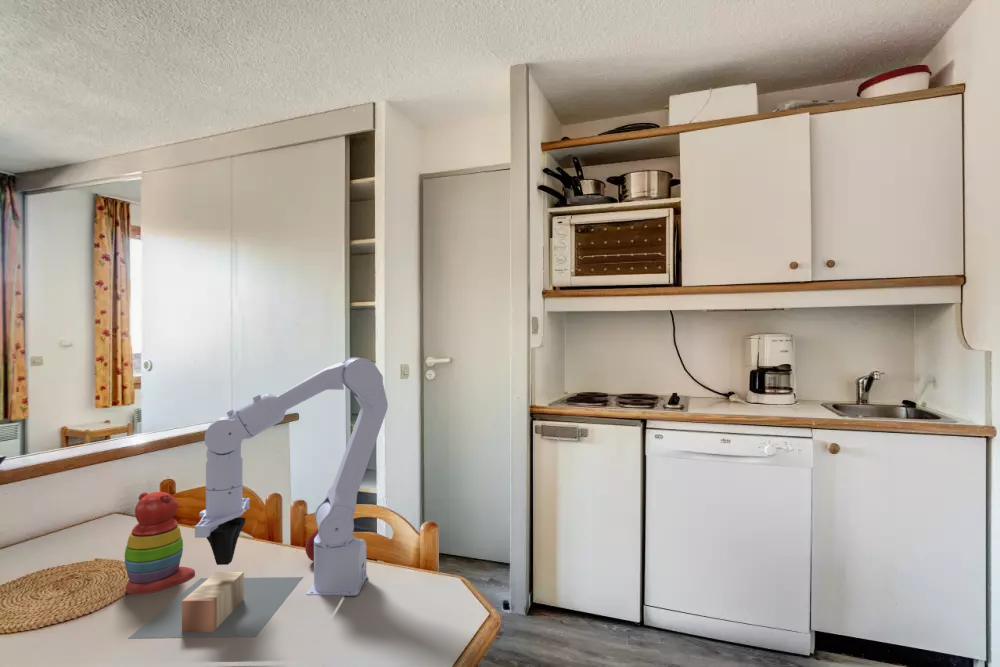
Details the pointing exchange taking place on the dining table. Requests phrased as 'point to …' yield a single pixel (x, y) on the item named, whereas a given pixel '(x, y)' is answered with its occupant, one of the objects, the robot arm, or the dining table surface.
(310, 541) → the onion
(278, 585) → the slate mat
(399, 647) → the dining table surface
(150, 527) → the stacking bear
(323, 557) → the robot arm
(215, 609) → the beech block
